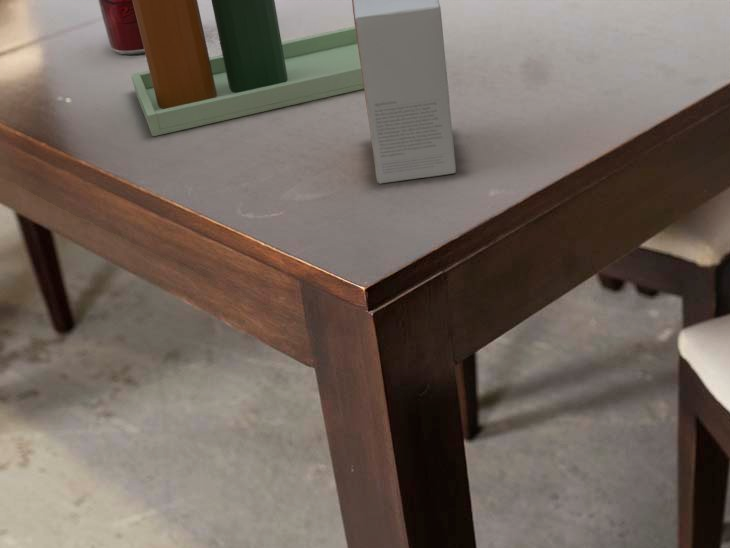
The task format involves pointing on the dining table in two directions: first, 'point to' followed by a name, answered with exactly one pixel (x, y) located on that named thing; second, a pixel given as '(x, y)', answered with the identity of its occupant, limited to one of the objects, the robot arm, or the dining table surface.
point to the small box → (405, 87)
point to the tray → (305, 83)
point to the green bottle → (250, 43)
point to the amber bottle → (175, 51)
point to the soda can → (122, 26)
